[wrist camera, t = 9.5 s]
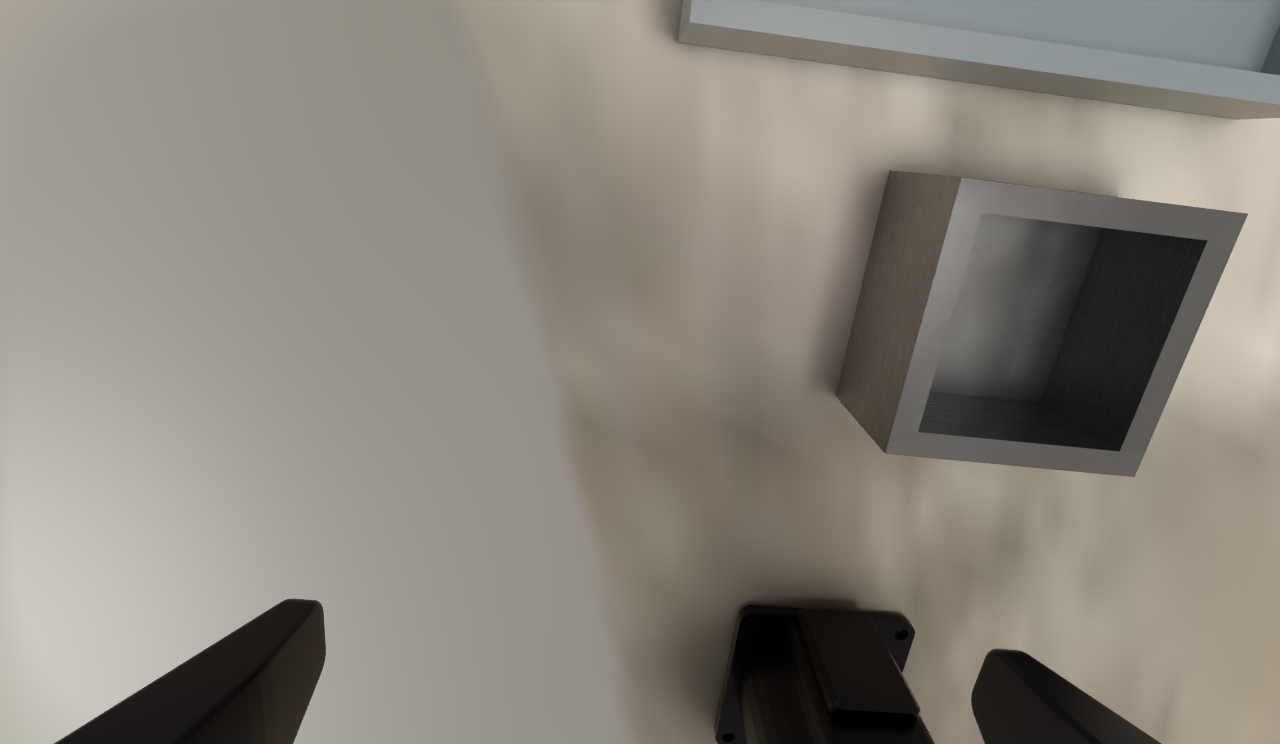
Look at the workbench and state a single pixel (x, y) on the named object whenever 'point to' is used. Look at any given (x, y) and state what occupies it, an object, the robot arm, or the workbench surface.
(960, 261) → the box
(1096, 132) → the workbench surface
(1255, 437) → the workbench surface
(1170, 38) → the tray
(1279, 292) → the workbench surface
